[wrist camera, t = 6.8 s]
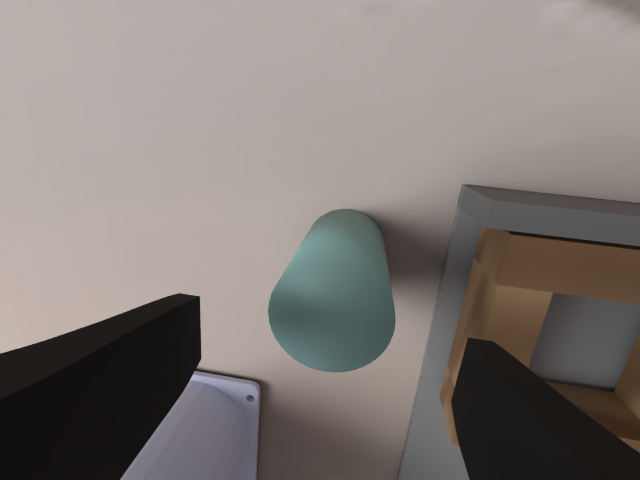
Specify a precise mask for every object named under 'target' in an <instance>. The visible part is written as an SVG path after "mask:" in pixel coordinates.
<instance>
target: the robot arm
mask: <svg viewBox="0 0 640 480" xmlns="http://www.w3.org/2000/svg"><path fill="white" fill-rule="evenodd" d="M200 360H201V328H200V296H193V295H187V294H180V293H179V294H175V295H171V296H168V297H165V298H162V299H159V300H156V301H153V302H151V303H148V304H145V305H143V306H140V307H137V308H135V309H132V310H130V311H127V312H124V313H122V314H119V315H116V316H114V317H111V318H108V319H106V320H103V321H100V322H98V323H95V324H92V325H89V326H86V327H83V328H80V329H77V330H75V331H72V332H69V333H66V334H63V335H60V336H57V337H54V338H52V339H48V340H45V341H42V342H39V343H36V344H32V345H29V346H26V347H22V348H19V349H15V350H12V351H8V352H5V353H1V354H0V480H256V477H257V455H258V432H259V410H260V386H259V384H258V383H256V382H254V381H250V380H244V379H238V378H233V377H227V376H221V375H216V374H210V373H204V372H198V371H195V370H196V368H197V366H198V364H199V362H200ZM249 395H251V396H253V397H250V396H249ZM451 406H452V412H453V418H454V424H455V429H456V434H457V439H458V443H459V447H460V450H461V454H462V457H463V460H464V463H465V467H466V470H467V473H468V477H469V480H640V453H639V452H638V451H636V450H635V449H634V448H632V447H631V446H629V445H628V444H626V443H625V442H624V441H622V440H621V439H620V438H618V437H617V436H616V435H614V434H613V433H611V432H610V431H609V430H607V429H606V428H605V427H603V426H602V425H600V424H599V423H598V422H596V421H595V420H594V419H592V418H591V417H590V416H588V415H587V414H586V413H584V412H583V411H582V410H580V409H579V408H578V407H577V406H575V405H574V404H573V403H571V402H570V401H569V400H568V399H566V398H565V397H564V396H562V395H561V394H560V393H559V392H557V391H556V390H555V389H554V388H552V387H551V386H550V385H549V384H547V383H546V382H545V381H544V380H542V379H541V378H540V377H539V376H537V375H536V374H535V373H534V372H532V371H531V370H530V369H529V368H527V367H526V366H525V365H524V364H523V363H521V362H520V361H519V360H518V359H516V358H515V357H514V356H512V355H511V354H510V353H509V352H507V351H506V350H505V349H503V348H502V347H501V346H499V345H498V344H496V343H495V342H493V341H488V340H482V339H475V338H469V337H468V339H467V342H466V346H465V350H464V354H463V358H462V361H461V365H460V369H459V373H458V377H457V380H456V384H455V388H454V392H453V395H452V399H451Z"/></svg>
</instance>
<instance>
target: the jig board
mask: <svg viewBox="0 0 640 480" xmlns="http://www.w3.org/2000/svg"><path fill="white" fill-rule="evenodd" d="M482 225H483V226H484V227H485V228H490V229H499V230H507V231H515V232H524V233H532V234H540V235H549V236H557V237H566V238H574V239H582V240H591V241H599V242H607V243H616V244H624V245H633V246H640V203H632V202H622V201H613V200H604V199H594V198H585V197H576V196H567V195H557V194H548V193H539V192H529V191H520V190H511V189H501V188H492V187H483V186H474V185H464V184H462V189H461V193H460V198H459V202H458V207H457V211H456V216H455V220H454V225H453V229H452V234H451V238H450V243H449V247H448V252H447V256H446V261H445V265H444V270H443V274H442V279H441V283H440V288H439V292H438V297H437V302H436V306H435V311H434V315H433V320H432V324H431V329H430V333H429V338H428V342H427V347H426V351H425V356H424V360H423V365H422V369H421V374H420V378H419V383H418V387H417V392H416V396H415V401H414V405H413V410H412V414H411V419H410V424H409V428H408V433H407V437H406V442H405V446H404V451H403V455H402V460H401V464H400V469H399V473H398V478H397V480H469V477H468V473H467V470H466V467H465V463H464V460H463V457H462V454H461V450H460V447H459V446H454V445H453V444H452V441H451V437H450V433H449V430H448V426H447V422H446V419H445V415H444V411H443V408H442V404H441V400H440V393H441V389H442V385H443V381H444V377H445V373H446V369H447V364H448V360H449V356H450V352H451V348H452V344H453V340H454V336H455V332H456V328H457V324H458V320H459V316H460V312H461V308H462V304H463V300H464V296H465V292H466V288H467V284H468V280H469V276H470V272H471V268H472V264H473V260H474V256H475V252H476V248H477V244H478V240H479V236H480V232H481V228H482ZM639 333H640V304H634V303H627V302H619V301H612V300H604V299H597V298H590V297H582V296H575V295H567V294H560V293H553V295H552V298H551V301H550V304H549V307H548V310H547V313H546V316H545V319H544V322H543V325H542V327H541V330H540V333H539V336H538V339H537V342H536V345H535V348H534V351H533V354H532V357H531V360H530V363H529V366H528V368H529V369H530V370H531V371H532V372H534V373H535V374H536V375H537V376H539V377H540V378H541V379H542V380H544V381H546V382H553V383H559V384H565V385H571V386H577V387H584V388H590V389H596V390H602V391H608V392H614V390H615V387H616V385H617V383H618V381H619V378H620V376H621V374H622V371H623V369H624V367H625V365H626V362H627V360H628V358H629V356H630V353H631V351H632V349H633V347H634V344H635V342H636V340H637V338H638V335H639Z"/></svg>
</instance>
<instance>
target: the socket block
mask: <svg viewBox="0 0 640 480" xmlns="http://www.w3.org/2000/svg"><path fill="white" fill-rule="evenodd" d="M553 293H560V294H567V295H575V296H582V297H590V298H597V299H604V300H612V301H619V302H627V303H634V304H640V246H633V245H624V244H616V243H607V242H599V241H591V240H582V239H574V238H566V237H557V236H549V235H540V234H532V233H524V232H515V231H507V230H499V229H490V228H485V227H484V226H483V225H482V228H481V232H480V236H479V240H478V244H477V248H476V252H475V256H474V260H473V264H472V268H471V272H470V276H469V280H468V284H467V288H466V292H465V296H464V300H463V304H462V308H461V312H460V316H459V320H458V324H457V328H456V332H455V336H454V340H453V344H452V348H451V352H450V356H449V360H448V364H447V369H446V373H445V377H444V381H443V385H442V389H441V393H440V400H441V404H442V408H443V411H444V415H445V419H446V422H447V426H448V430H449V433H450V437H451V441H452V444H453V445H454V446H459V443H458V439H457V434H456V429H455V424H454V418H453V412H452V406H451V399H452V395H453V392H454V388H455V384H456V380H457V377H458V373H459V369H460V365H461V361H462V358H463V354H464V350H465V346H466V342H467V339H468V337H469V338H475V339H482V340H488V341H493V342H495V343H496V344H498V345H499V346H501V347H502V348H503V349H505V350H506V351H507V352H509V353H510V354H511V355H512V356H514V357H515V358H516V359H518V360H519V361H520V362H521V363H523V364H524V365H525V366H526V367H527V368H528V366H529V363H530V360H531V357H532V354H533V351H534V348H535V345H536V342H537V339H538V336H539V333H540V330H541V327H542V325H543V322H544V319H545V316H546V313H547V310H548V307H549V304H550V301H551V298H552V295H553ZM545 382H546V381H545ZM546 383H547V384H549V385H550V386H551V387H552V388H554V389H555V390H556V391H557V392H559V393H560V394H561V395H562V396H564V397H565V398H566V399H568V400H569V401H570V402H571V403H573V404H574V405H575V406H577V407H578V408H579V409H580V410H582V411H583V412H584V413H586V414H587V415H588V416H590V417H591V418H592V419H594V420H595V421H596V422H598V423H599V424H600V425H602V426H603V427H605V428H606V429H607V430H609V431H610V432H611V433H613V434H614V435H616V436H617V437H618V438H620V439H621V440H622V441H624V442H625V443H626V444H628V445H629V446H631V447H632V448H634V449H635V450H636V451H638V452H639V453H640V333H639V335H638V338H637V340H636V342H635V344H634V347H633V349H632V351H631V353H630V356H629V358H628V360H627V362H626V365H625V367H624V369H623V371H622V374H621V376H620V378H619V381H618V383H617V385H616V387H615V390H614V392H608V391H602V390H596V389H590V388H584V387H577V386H571V385H565V384H559V383H553V382H546Z"/></svg>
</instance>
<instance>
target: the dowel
mask: <svg viewBox="0 0 640 480" xmlns="http://www.w3.org/2000/svg"><path fill="white" fill-rule="evenodd" d="M268 313H269V322H270V326H271V329H272V332H273V334H274V336H275V338H276V340H277V341H278V343H279V344H280V345H281V347H282V348H283V349H284V350H285V351H286V352H287V353H288V354H289V355H290V356H291V357H293V358H294V359H295V360H297V361H298V362H300V363H302V364H304V365H306V366H308V367H311V368H314V369H317V370H321V371H326V372H346V371H351V370H356V369H358V368H361V367H364V366H365V365H367V364H369V363H371V362H372V361H374V360H375V359H376V358H378V357H379V356H380V355H381V354H382V353H383V352H384V350H385V349H386V348H387V346H388V344H389V343H390V341H391V338H392V336H393V333H394V329H395V309H394V303H393V296H392V289H391V283H390V276H389V270H388V263H387V256H386V250H385V243H384V238H383V235H382V233H381V231H380V229H379V227H378V226H377V224H376V223H375V222H374V221H373V220H372V219H371V218H369V217H368V216H366V215H365V214H363V213H361V212H358V211H355V210H349V209H340V210H335V211H331V212H329V213H327V214H325V215H323V216H322V217H320V218H319V219H318V220H317V221H316V222H315V223H314V224H313V226H312V227H311V229H310V230H309V232H308V234H307V235H306V237H305V239H304V240H303V242H302V243H301V245H300V247H299V248H298V250H297V252H296V253H295V255H294V257H293V258H292V260H291V262H290V263H289V265H288V266H287V268H286V270H285V271H284V273H283V275H282V276H281V278H280V280H279V281H278V283H277V284H276V286H275V288H274V290H273V292H272V294H271V298H270V301H269V308H268Z"/></svg>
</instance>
